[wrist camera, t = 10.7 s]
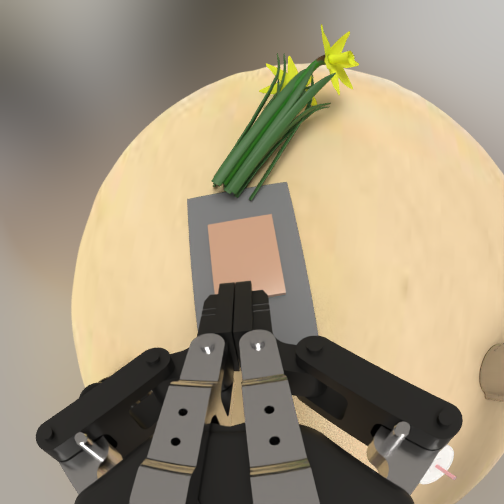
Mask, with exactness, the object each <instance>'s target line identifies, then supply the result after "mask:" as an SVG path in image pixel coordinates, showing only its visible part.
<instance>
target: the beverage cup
mask: <svg viewBox="0 0 504 504" xmlns="http://www.w3.org/2000/svg"><path fill="white" fill-rule="evenodd" d="M453 457H454V451H453V448H452V447H450V446H449V445H446V446H445V447H444V448H443V449H442V450H441V451H440V452H439V453H438V454H437V456H436V458H435V459H434V461H433V463H432V464H431V466H430V467H429V469H428V470H427V472H426V474H425V475H424V477H423V478H422V479H421V481H420V482H419V483H421V484H429V483H432V482H434V481H436V480H438V479H439V478H440V477H441V476H443V475H444V474H446V475H447V476H449V477H450V478H452V479H453V480H455V479H456V476H455V475H453V474H451V473H450V472H448V471H447V470H448V469H449V467H450V465H451V463H452V461H453Z"/></svg>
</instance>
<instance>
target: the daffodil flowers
mask: <svg viewBox="0 0 504 504" xmlns="http://www.w3.org/2000/svg"><path fill="white" fill-rule="evenodd" d="M321 30H322V39H323V44H324V49H325V55H323V56H321V57H319V58H318V59H316V60H315V61H314V62H312V63H311V64H310V65H309V66H308V67H307V68H306V69H304V70H302V71H300V72H299V73H298V71H297V69H296V67H295V65H294V63H293V61H292V59H291V57H290V56H289V57H288V73H286V61H285V55H284V71H282V70H281V69H280V61H279V57H278V55H277V59H278V68H276V67H274V66H272V65H269V64H266V66H267V67H268V68H269V69H270V70H271V71H272V72H273V74H274V75H275V78H274V80H273V82H272V84H271V85H270V86H268V87H266V88H263V89H261V90H260V91H259V92H262V93H266V95H265V97H264V99H263V100H262V102H261V104H260V105H259V107H258V109H257V111H256V112H255V114H254V116H253V117H252V119H251V121H250V122H249V124H248V126H247V127H246V129H245V130H244V132H243V133H242V135H241V136H240V138H239V140H238V141H237V143H236V144H235V146H234V148H233V149H232V151H231V152H230V153H229V155H228V156H227V158H226V159H225V161H224V162H223V164H222V165H221V167H220V168H219V170H218V171H217V173H216V174H215V176H214V178H213V180H212V182H213V184H214V185H213V187H216V185H218V186H221V184H222V183H223V184H224V191H226V192H227V193H229V194H231V192H233V193H234V196H235V197H237V198H238V197H239V196H240V194H241V193H242V191H243V190H244V189H245V187H246V186H247V185H248V183H249V182H250V181H251V179H252V178H253V176H254V175H255V174H256V172H257V171H258V170H259V169H260V167H261V166H262V165H263V164H264V163H265V161H266V160H267V159H268V158H269V157H270V156H271V154H272V153H273V152H274V151H275V150H276V148H277V147H278V146H279V145H280V144H281V143H282V142H283V141H284V140H285V139H286V138H287V137H288V138H287V140H286V141H285V143H284V144H283V146H282V147H281V149H280V150H279V152H278V154H277V155H276V157H275V158H274V160H273V162H272V163H271V165H270V166H269V168H268V170H267V171H266V173H265V174H264V176H263V177H262V179H261V180H260V182H259V184H258V185H257V187H256V188H255V190H254V191H253V193H252V194H251V196H250V197H249V200H251V201H252V199H253V198H254V196H255V195H256V193H257V192H258V190H259V189H260V187H261V185H262V184H263V182H264V181H265V179H266V178H267V176H268V175H269V173H270V172H271V170H272V168H273V167H274V165H275V164H276V162H277V160H278V159H279V157H280V155H281V154H282V152H283V151H284V149H285V148H286V146H287V144H288V143H289V141H290V140H291V138H292V137H293V135H294V133H295V132H296V130H297V129H298V127H299V126H300V124H301V123H302V122H303V121H304V120H305V119H306V118H308V117H309V116H310V115H311V114H312V113H314V112H316V111H317V110H320V109H323V108H328V107H322V106H325V105H328V104H331V103H325V104H319V105H317V102H316V100H315V98H314V96H315V95H316V93H317V92H318V91H319V90H320V89H321V88H322V87H323V86H324V85H325V84H326V83H327V82H328V81H329V80H330V79H331V81H332V84H333V87H334V88H335V90H336V91H337V93H338V94H339V96H340V91H339V82H338V78H339V79H340V80H341V82H342V83H343V84H345V85H346V86H347V87H349V88H351V89H353V87H352V85H351V83H350V80H349V78H348V76H347V74H346V73H345V71H344V69H343V68H349V67H354V66H358V65H359V63H357V62H356V61H355V60H354V59H355V58H354V57H353V56H354V55H353V53H352V52H351V51H347V52H344V53H341V52H342V50H343V47H344V45H345V42H346V39H347V38H348V36H349V34H350V31H349V32H347V33H346V34H345V35H344V36H342V37H341V38H340V39H339V40H338V41H337V42H336V43H335V44H334V45H333V46H332V47H331V48H330V44H329V42H328V40H327V38H326V36H325V34H324V31H323V26H322V24H321ZM321 65H326V66H327V69H329V71H330V75H329V76H327V77H325V78H323V79H321V80H320V81H318V82H317V83H315V84H314V82H313V75H312V73H313V72H314V71H315V70H316V69H317V68H318V67H319V66H321ZM311 75H312V76H311ZM277 79H278V82H277V83H276V81H277ZM279 80H280V81H281V82H279ZM275 83H276V84H275ZM310 83H311V86H308V85H309V84H310ZM307 86H308V87H307ZM270 94H275V95H274V96H273V98H272V99H271V100H270V102H269V103H268V104H267V106H266V107H265V109H264V110H263V111H262V113H261V114H260V116H259V117H258V119H257V120H256V118H257V116H258V114H259V113H260V111H261V109H262V107H263V106H264V104H265V102H266V101H267V99H268V97H269V95H270ZM307 103H308V104H307ZM306 104H307V107H306V109H305V111H304V112H302V113H301V114H300V115H299V116H298V117H297V118H295V117H296V116H297V114H298V113H299V112H300V111H301V110H302V109H303V108H304V107H305V105H306ZM311 105H313V106H312V107H311ZM294 118H295V119H294ZM293 119H294V120H293ZM255 120H256V121H255ZM292 120H293V121H292ZM254 121H255V123H254ZM253 123H254V124H253ZM252 125H253V126H252Z"/></svg>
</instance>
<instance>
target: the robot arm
mask: <svg viewBox="0 0 504 504" xmlns="http://www.w3.org/2000/svg"><path fill="white" fill-rule="evenodd" d="M240 367H241V371H242V379H243V382H242V395H243V405H244V415H245V423H242V424H239V425H235V426H231V418H232V410H233V402H234V394H235V381H234V377H233V376H234V371H240ZM480 384H481V388H482V390H483V391H484V392H485V395H486V399H491V400H497V401H503V402H504V343H503V344H497V345H494V346H493V347H492V348H491V349H490V350H489V351H488V352H487V354H486V356H485V358H484V360H483V363H482V366H481V371H480ZM151 390H152V392H153V393H151V394H150V395H149V396H148V397H146V398H145V399H144V400H143V401H141V402H140V403H139V404H137V405H136V406H135V407H134V408H132V409H131V410H130V408H131V406H132V405H133V404H135V403H136V402H137V401H138V400H140V399H141V398H142V397H144V396H145V395H146V394H147V393H149V392H150V391H151ZM292 395H295V396H297V398H298V399H299V400H300V401H302V402H303V403H305V404H306V405H307V406H309V407H310V408H311V409H313V410H314V411H316V412H317V413H319V414H320V415H321V416H323V417H324V418H326V419H327V420H329V421H330V422H332V423H333V424H334V425H336V426H337V427H339V428H340V429H342V430H343V431H345V432H347V433H348V434H350V435H351V436H353V437H354V438H356V439H357V440H359V441H361V442H362V443H364V444H365V445H367V446H368V448H367V458H368V460H369V462H370V463H371V464H372V465H373V466H375V467H376V469H377V470H378V472H379V473H377V472H376V471H374V470H373V469H371V468H370V467H368V466H367V465H365V464H364V463H362V462H361V461H359V460H358V459H356V458H355V457H353V456H352V455H351V454H349V453H348V452H346V451H345V450H344V449H342V448H341V447H339V446H338V445H337V444H335V443H334V442H333V441H331V440H330V439H329V438H327V437H326V436H325V435H323V434H322V433H321V432H319V431H317V430H315V429H313V428H311V427H308V426H305V425H300V424H299V423H298V419H297V415H296V411H295V407H294V403H293V399H292ZM462 421H463V420H462V414H461V412H460V410H459V409H458V408H457V407H456V406H455V405H453V404H451V403H449V402H447V401H445V400H443V399H440V398H438V397H436V396H434V395H432V394H430V393H428V392H426V391H424V390H422V389H420V388H418V387H416V386H414V385H412V384H410V383H408V382H406V381H405V380H403V379H401V378H399V377H397V376H395V375H393V374H391V373H389V372H387V371H385V370H383V369H382V368H380V367H378V366H376V365H374V364H372V363H370V362H368V361H367V360H365V359H363V358H361V357H359V356H357V355H356V354H354V353H352V352H350V351H348V350H346V349H345V348H343V347H341V346H339V345H337V344H336V343H334V342H332V341H330V340H328V339H327V338H325V337H322V336H308V337H305V338H303V339H302V340H300V341H299V342H298V343H297V345H294V344H287V343H283V342H281V341H279V340H278V339H277V338H276V337H275V336H274V334H273V331H272V323H271V315H270V306H269V298H268V295H267V294H266V293H265V292H264V290H256V291H252V283H251V281H242V282H236V284H235V282H231V283H220V284H219V290H218V294H213V295H209V296H208V298H207V299H206V300H205V301H204V305H203V310H202V316H201V319H200V324H199V329H198V334H197V337H196V338H195V339H194V340H193V341H192V342H191V344H190V347H189V348H188V349H186V350H184V351H181V352H177V353H173V354H169V352H168V351H167V350H165V349H163V348H151V349H148V350H146V351H145V352H143V353H142V354H141V355H139V356H138V357H136V358H135V359H134V360H132V361H131V362H129V363H128V364H127V365H125V366H124V367H123V368H121V369H120V370H118V371H117V372H116V373H114V374H113V375H111V376H110V377H109V378H107V379H106V380H104V381H103V382H102V383H100V384H99V385H97V386H96V387H94V388H93V389H92V390H90V391H89V392H87V393H86V394H85V395H83V396H82V397H80V398H79V399H77V400H76V401H75V402H73V403H72V404H70V405H69V406H67V407H66V408H65V409H63V410H62V411H60V412H59V413H57V414H56V415H55V416H53V417H52V418H50V419H49V420H47V421H46V422H44V423H43V424H42V425H41V426H40V427H39V428H38V430H37V433H36V441H37V444H38V445H39V447H40V448H41V449H43V450H44V451H45V452H46V453H48V454H49V455H50V456H52V457H53V458H54V459H56V460H57V461H58V462H59V463H60V465H61V467H62V468H63V470H64V472H65V473H66V475H67V477H68V478H69V480H70V482H71V483H72V485H73V486H74V488H75V489H76V491H77V493H78V494H79V495H78V497H77V498H76V501H75V504H414V502H413V499H412V498H411V496H410V495H411V494H412V492H413V491H414V489H415V488H416V487H417V485H418V484H419V482H420V481H421V479H422V478H423V477H424V475H425V474H426V472H427V470H428V469H429V467H430V466H431V464H432V463H433V461H434V459H435V458H436V456H437V454H438V453H439V452H440V451H441V450H442V449H443V448H444V447H445V446H446V445H447V444H448V443H449V441H450V440H451V439H452V438H453V437H454V436H455V435H456V434H457V433H458V432H459V430H460V428H461V426H462ZM151 435H152V436H151ZM141 443H142V444H141ZM136 447H137V448H136ZM135 448H136V449H135ZM131 451H132V452H131ZM130 452H131V453H130ZM129 453H130V454H129ZM127 454H128V455H127ZM126 455H127V456H126ZM125 456H126V457H125ZM123 457H125V458H124V459H122V458H123Z"/></svg>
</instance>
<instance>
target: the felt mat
mask: <svg viewBox="0 0 504 504" xmlns="http://www.w3.org/2000/svg"><path fill="white" fill-rule="evenodd" d="M256 187H257V186H256ZM256 187H250V188H245V189H244V190H243V191H242V193H241V194H240V196H239V197H238V198H237V197H235V196H234V193H233V192H231V194H229V193H227V192H222V193H216V194H211V195H206V196H201V197H196V198H191V199H187V205H188V225H189V242H190V256H191V269H192V280H193V291H194V301H195V311H196V320H197V328H198V329H199V324H200V319H201V316H202V310H203V305H204V301H205V300H206V299H207V298H208V296H209V295H213V294H215V292H214V283H213V274H212V264H211V255H210V244H209V234H208V225H210V224H215V223H221V222H226V221H232V220H238V219H244V218H250V217H256V216H262V215H268V214H272V219H273V224H274V229H275V234H276V240H277V245H278V251H279V256H280V262H281V267H282V273H283V278H284V284H285V290H286V294H285V296H279V297H273V298H269V306H270V315H271V323H272V331H273V334H274V336H275V337H276V338H277V339H278V340H279V341H281V342H283V343H287V344H294V345H297V343H298V342H299V341H300V340H302V339H303V338H305V337H308V336H318V330H317V324H316V318H315V313H314V307H313V302H312V296H311V291H310V286H309V280H308V275H307V270H306V265H305V260H304V255H303V251H302V246H301V241H300V237H299V232H298V227H297V223H296V219H295V214H294V210H293V205H292V201H291V197H290V193H289V189H288V185H287V182H283V183H276V184H269V185H263V186H261V187H260V189H259V190H258V192H257V193H256V195H255V196H254V198H253V199H252V201H251V200H249V197H250V196H251V194H252V193H253V191H254V190H255V188H256Z"/></svg>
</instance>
